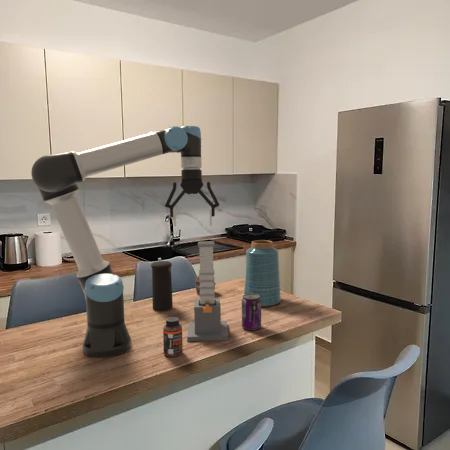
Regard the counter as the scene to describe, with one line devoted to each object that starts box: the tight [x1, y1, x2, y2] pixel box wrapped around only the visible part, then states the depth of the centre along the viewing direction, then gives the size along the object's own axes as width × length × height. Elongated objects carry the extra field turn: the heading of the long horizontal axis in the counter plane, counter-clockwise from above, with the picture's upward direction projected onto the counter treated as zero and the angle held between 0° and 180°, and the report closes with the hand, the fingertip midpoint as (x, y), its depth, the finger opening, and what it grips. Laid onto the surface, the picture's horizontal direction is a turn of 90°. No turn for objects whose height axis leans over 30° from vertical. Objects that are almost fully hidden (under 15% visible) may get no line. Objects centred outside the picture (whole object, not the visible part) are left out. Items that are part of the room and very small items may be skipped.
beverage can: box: [241, 294, 262, 331], centre depth 148 cm, size 7×7×12 cm
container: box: [150, 260, 174, 312], centre depth 170 cm, size 9×9×20 cm
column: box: [197, 240, 216, 306], centre depth 142 cm, size 6×6×23 cm
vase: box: [243, 239, 282, 308], centre depth 176 cm, size 16×16×27 cm
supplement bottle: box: [162, 316, 183, 358], centre depth 127 cm, size 6×6×11 cm
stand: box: [186, 298, 229, 342], centre depth 144 cm, size 14×14×12 cm
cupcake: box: [194, 274, 216, 297], centre depth 190 cm, size 10×10×10 cm
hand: (192, 225), depth 153 cm, fingers open, 13 cm apart
